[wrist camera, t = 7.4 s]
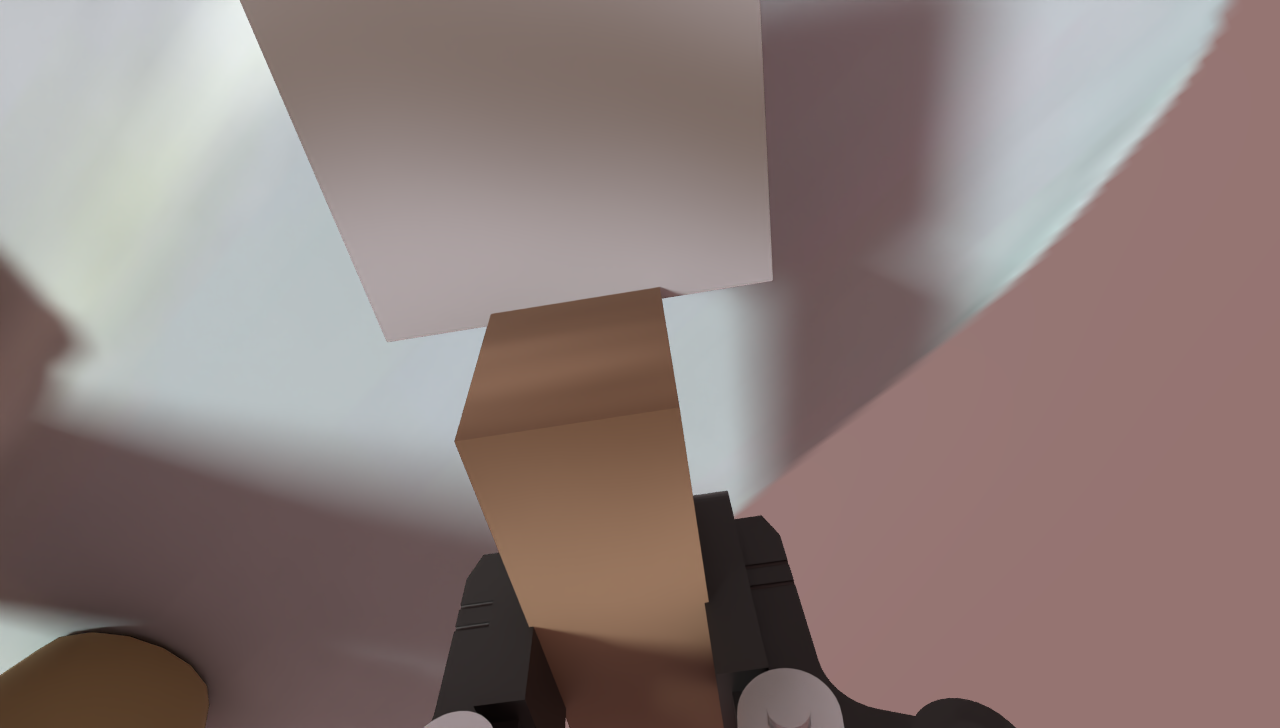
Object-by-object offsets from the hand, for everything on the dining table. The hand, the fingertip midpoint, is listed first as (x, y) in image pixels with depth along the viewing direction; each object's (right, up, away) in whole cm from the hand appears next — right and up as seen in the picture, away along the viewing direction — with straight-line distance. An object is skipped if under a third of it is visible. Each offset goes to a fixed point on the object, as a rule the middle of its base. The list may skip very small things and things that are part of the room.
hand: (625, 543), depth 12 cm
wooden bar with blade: (0, +2, 0) cm, 2 cm away
